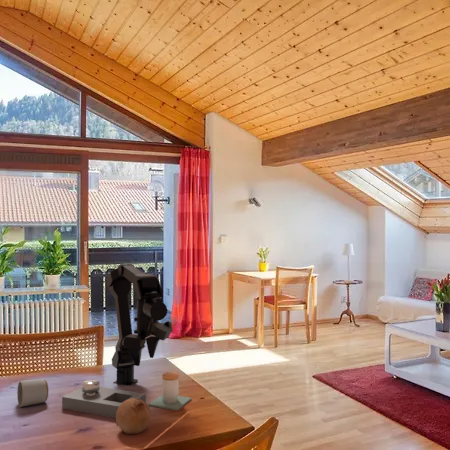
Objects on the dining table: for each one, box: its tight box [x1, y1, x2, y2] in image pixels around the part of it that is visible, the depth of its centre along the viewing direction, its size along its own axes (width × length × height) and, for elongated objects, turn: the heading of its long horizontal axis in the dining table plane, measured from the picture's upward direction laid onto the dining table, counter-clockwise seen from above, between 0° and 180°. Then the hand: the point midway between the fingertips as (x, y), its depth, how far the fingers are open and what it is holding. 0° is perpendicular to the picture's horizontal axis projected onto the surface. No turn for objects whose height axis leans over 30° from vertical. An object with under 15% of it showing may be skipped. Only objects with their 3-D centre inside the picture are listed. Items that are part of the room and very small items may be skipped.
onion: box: [115, 398, 152, 435], centre depth 138 cm, size 10×9×10 cm
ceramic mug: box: [16, 378, 49, 408], centre depth 159 cm, size 11×8×8 cm
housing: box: [61, 386, 147, 419], centre depth 154 cm, size 12×22×4 cm, turn 69°
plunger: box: [81, 379, 100, 396], centre depth 156 cm, size 5×5×7 cm
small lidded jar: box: [161, 371, 180, 404], centre depth 158 cm, size 5×5×8 cm
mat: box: [147, 394, 192, 412], centre depth 158 cm, size 10×10×1 cm
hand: (144, 361), depth 163 cm, fingers open, 9 cm apart
